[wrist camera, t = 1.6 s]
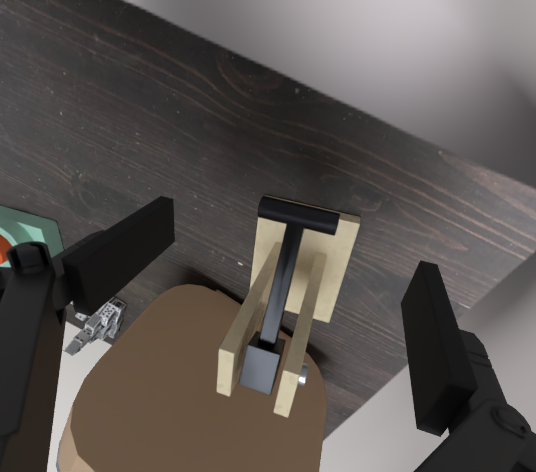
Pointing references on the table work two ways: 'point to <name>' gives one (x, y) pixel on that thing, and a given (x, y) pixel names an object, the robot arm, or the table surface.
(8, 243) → the button
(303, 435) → the alarm clock
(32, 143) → the table surface
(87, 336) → the house of cards
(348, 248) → the hinged lever switch
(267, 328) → the lever
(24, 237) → the button box
